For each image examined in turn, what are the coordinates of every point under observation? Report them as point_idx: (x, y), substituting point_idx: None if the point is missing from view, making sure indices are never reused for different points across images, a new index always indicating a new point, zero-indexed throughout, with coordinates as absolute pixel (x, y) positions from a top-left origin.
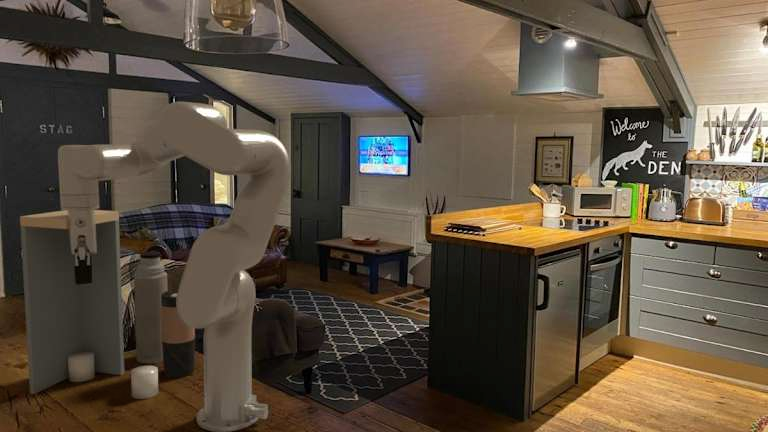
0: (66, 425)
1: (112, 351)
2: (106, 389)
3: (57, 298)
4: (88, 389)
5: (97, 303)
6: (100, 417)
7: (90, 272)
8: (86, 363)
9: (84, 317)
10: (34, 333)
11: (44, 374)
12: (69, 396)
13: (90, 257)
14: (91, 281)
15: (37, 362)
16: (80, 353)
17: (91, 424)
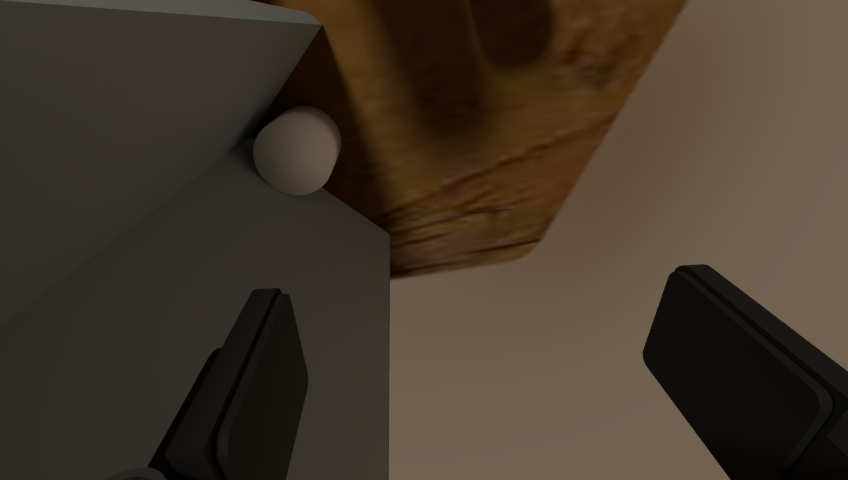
0: (592, 156)
1: (288, 54)
2: (422, 70)
3: None
4: (404, 119)
5: (172, 149)
6: (594, 84)
7: (784, 334)
8: (329, 137)
9: (174, 187)
10: (379, 324)
11: (362, 233)
12: (433, 161)
13: (210, 447)
14: (710, 271)
15: (376, 265)
16: (274, 161)
17: (619, 104)
